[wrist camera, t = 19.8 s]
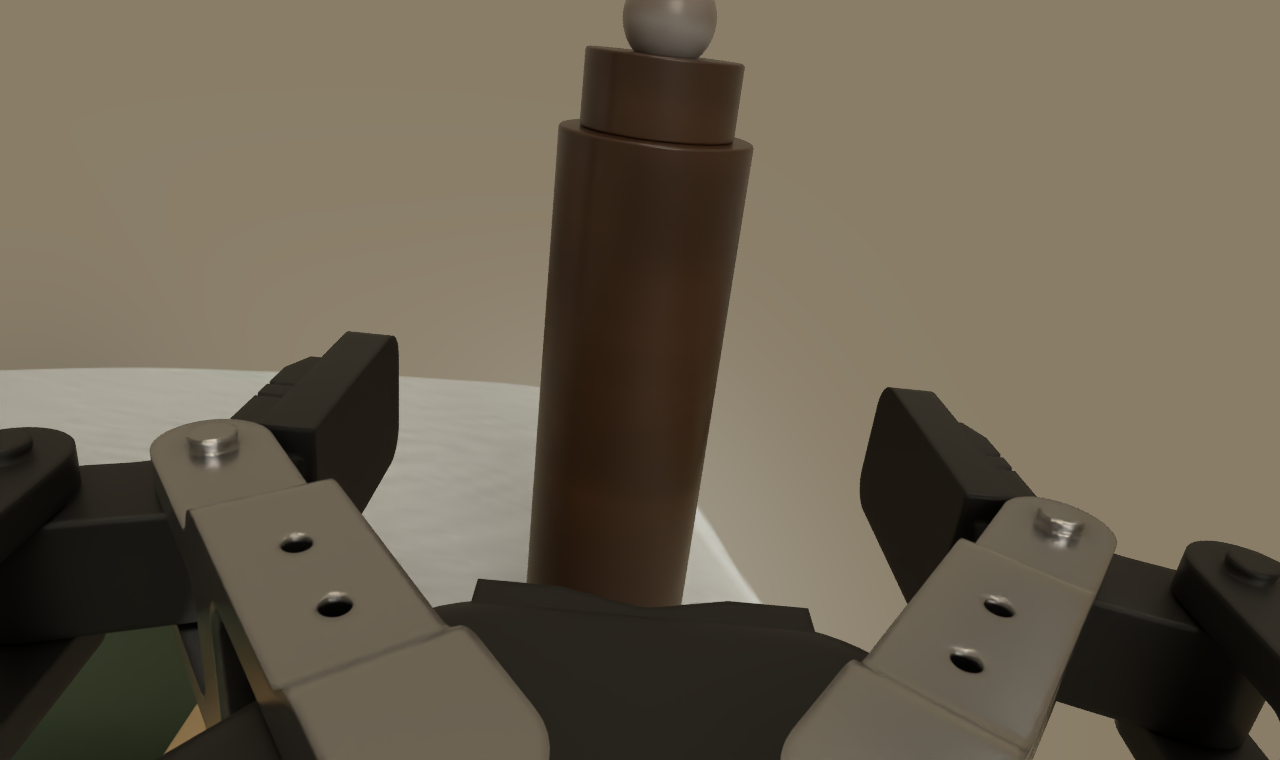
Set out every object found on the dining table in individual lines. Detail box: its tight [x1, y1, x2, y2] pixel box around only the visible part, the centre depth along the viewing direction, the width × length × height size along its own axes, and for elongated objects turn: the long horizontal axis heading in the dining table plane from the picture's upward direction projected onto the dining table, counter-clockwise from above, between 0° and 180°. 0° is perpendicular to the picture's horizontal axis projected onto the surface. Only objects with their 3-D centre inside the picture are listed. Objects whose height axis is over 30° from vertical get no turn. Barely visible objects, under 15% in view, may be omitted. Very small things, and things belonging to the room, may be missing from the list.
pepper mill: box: [527, 0, 753, 608], centre depth 23 cm, size 5×5×22 cm
